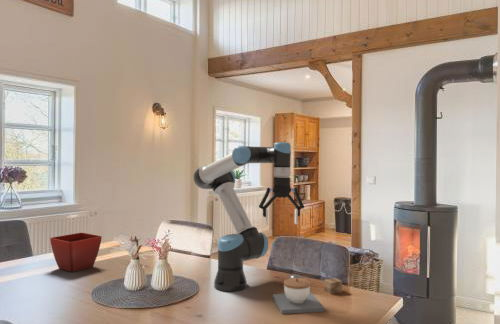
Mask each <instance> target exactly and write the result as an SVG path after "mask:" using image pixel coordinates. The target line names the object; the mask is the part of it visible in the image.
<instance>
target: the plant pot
mask: <svg viewBox="0 0 500 324" xmlns="http://www.w3.org/2000/svg"><path fill="white" fill-rule="evenodd" d="M49 240H50V245H51V250H52V254H53V257H54V259H55V260H54V261H55V262H56V265H57V268H58V269H59V270H63V271H67V272H70V273H74V272H79V271H81V270H86V269H87V270H88V269H91V268H93V266H94V265H95V263H96V260H97V258H98V253H99V251H100V247H101V241H102V236H101V235H97V234H92V233H86V232H77V233H70V234H66V235H65V234H64V235H58V236H53V237H50V239H49Z"/></svg>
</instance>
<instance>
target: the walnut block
mask: <svg viewBox="0 0 500 324" xmlns="http://www.w3.org/2000/svg"><path fill="white" fill-rule="evenodd" d="M323 284H324V288H323V289H324V292H326V293H327V294H329V295H333V294H341V293H343V281H342V280H340V279H338V278H328V279H327V278H326V279H324V283H323Z"/></svg>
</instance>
